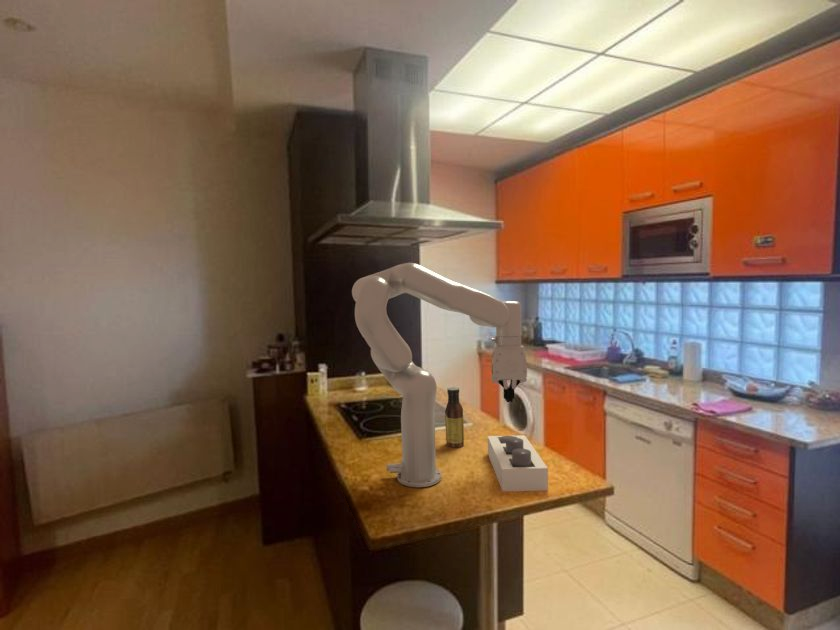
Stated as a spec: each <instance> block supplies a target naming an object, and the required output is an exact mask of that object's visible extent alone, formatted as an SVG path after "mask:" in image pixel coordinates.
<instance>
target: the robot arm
mask: <svg viewBox="0 0 840 630" xmlns="http://www.w3.org/2000/svg"><path fill="white" fill-rule="evenodd" d="M402 294H408V295H410V296H413V297H415V298H417V299H420V300H423V302H426V303H429V304H431V305H432V306H435V307H436V308H439V309H442V310H445V311H449V312H454V313H459V314H463V315H466V316H468V317H469V320H470V321H472V322H473V324H475V325H477V326H482V327H490V328H496V329H495V330H496V331H495V332H496V333H495V334H496V335H495V337H492V338H491V343H494V344H495V345H493V351H492V358H491V360H492V361H491V378H490V381H491V382H492V383H494V384H499V385H500V386H501V387H502V388H503V399H504V400H505V401H506V403H513V402H514V401H513V400H514V399H515V389H516V388H517V386H518V385H520V384H521V383H526V382H527V377H528V367H527V356H526V353H527V352H526V349H525V346H524V345H522V304H521V302H519V301H516V300H515V301H514V300H504V301H502V300H499V299H497V298H495V297H493V296H491V295H490V294H488V293H484V292H482V291H481V290H480V291H479V290H477V289H475V288H471V287H470V286H467V285H465V284H463V283H459V282H457V281H454V280H451V279H449V278H447V277H445V276H442V275H441V274H439V273H437V272H434V271H433V270H430V269H429V268H426V267H424V266H423V265H420V264H419V263H414V262H405V263H401V264H397V265H395V266H392V267H390V268H386V269H384V270H381V271H379V272H375V273H373V274H369V275H366V276H364V277H361V278H359V279H357V280H356V281H355V282H354V284H353V286H352V289H351V296H352V298H353V300H354V302H355V306H354V320H355V325H356V327H357V328H358V329H357V330H358V331H359V333H360V334H361V336H362V338H364V340H365V342H366V344H367V345H368V347H370V357H371V359H372V361H373V363H374V365H376V367H377V369H378V370H379V371H380V373H381V374H382V375H383V376H384V378H385V379H386V381H387V382H388V383H389V384H390V385H391V387H392V389H394V390H395V392H397V393H398V394H399V395H401V396H402V402H401V403H402V404H401V410H400V411H401V412H400V427H401V428H400V429H401V430H400V431H401V461H400V462H397V463H386V471H390V474H397V475H396V477H397V482H398V483H400V485H404V486H406V487H410V488H411V487H412V488H427V487H430V486H433V485H436V484H438V483H439V482H440V481H441V480H442V472H441V471H440V469H438V468H437V462H436V461H437V456H436V422H435V420H436V418H435V416H436V415H435V412H436V409H435V408H436V400H437V393H438V392H437V382H436V380H435V378H434V376H433V375H432V373H430V372H429V370H427V369H424V368H423V367H420V366H417V365H416V364H415V363H414V362H413V354H412V350H411V348H410V346H409V345H408V343H407V342H406V341H405V340H404V338H403V337H402V336H401V334H400V333H399V332H398V331H397V329H396V328H395V326H394V325H393V323H392V322H391V320H390V318H389V316H388V312H387V304H388V301H389V300H390V299H392V298H395V297H398V296H399V295H402ZM508 381H509V385H508Z"/></svg>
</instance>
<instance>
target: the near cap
mask: <svg viewBox="0 0 840 630" xmlns="http://www.w3.org/2000/svg"><path fill="white" fill-rule="evenodd" d="M512 467H531V451H529V450H527V449H521V448H519V449H514V450H512Z"/></svg>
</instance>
